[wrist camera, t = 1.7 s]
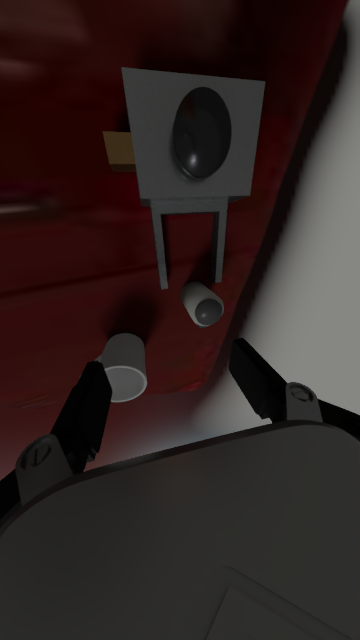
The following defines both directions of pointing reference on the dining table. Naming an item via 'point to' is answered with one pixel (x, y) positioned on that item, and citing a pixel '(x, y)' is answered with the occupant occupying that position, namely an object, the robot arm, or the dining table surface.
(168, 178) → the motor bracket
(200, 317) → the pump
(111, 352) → the mug
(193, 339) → the dining table surface
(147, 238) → the dining table surface
